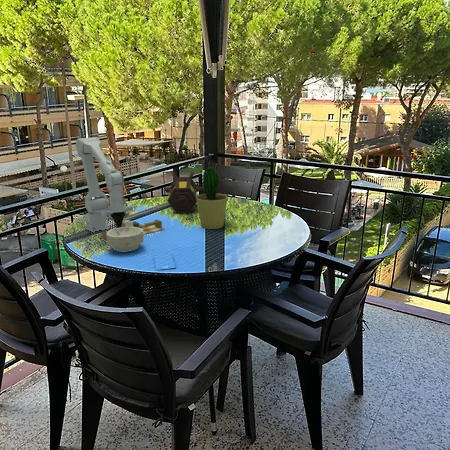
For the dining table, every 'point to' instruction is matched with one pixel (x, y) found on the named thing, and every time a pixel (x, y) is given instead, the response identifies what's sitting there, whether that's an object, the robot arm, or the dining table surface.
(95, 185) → the robot arm
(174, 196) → the lantern
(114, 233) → the paper bowls
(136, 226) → the bracket
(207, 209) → the potted cactus
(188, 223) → the dining table surface
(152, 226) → the pipe stand
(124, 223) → the pale sage cube
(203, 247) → the dining table surface
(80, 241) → the dining table surface
